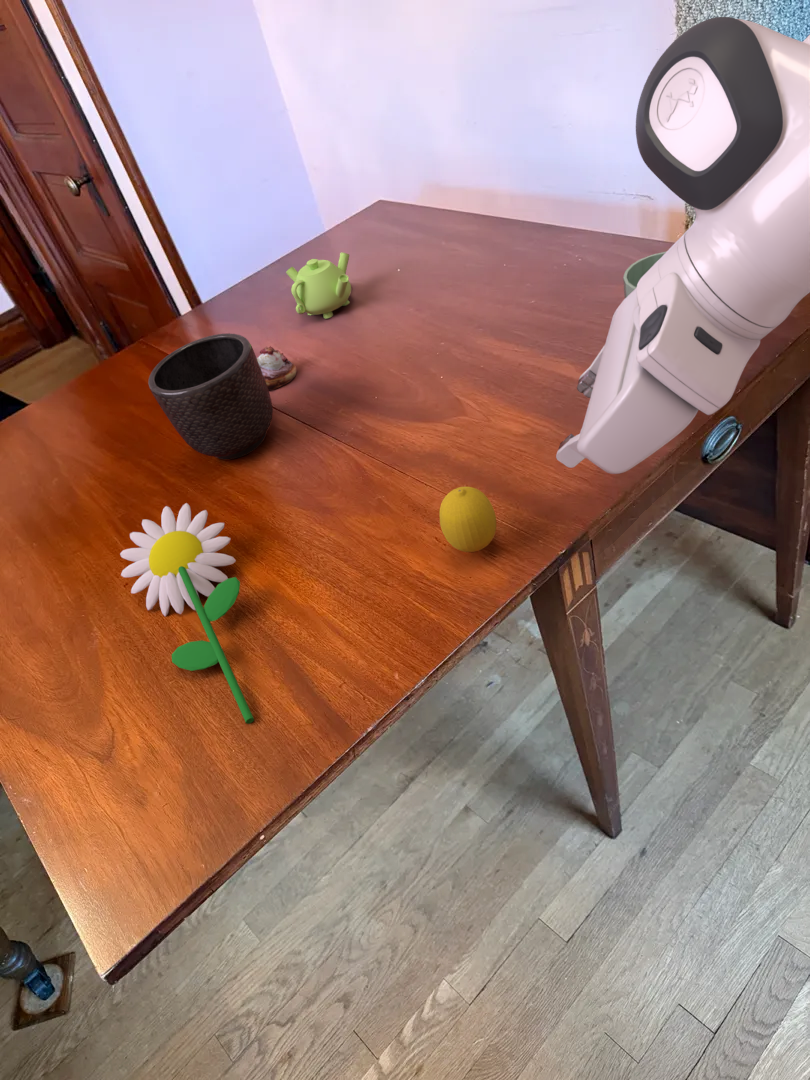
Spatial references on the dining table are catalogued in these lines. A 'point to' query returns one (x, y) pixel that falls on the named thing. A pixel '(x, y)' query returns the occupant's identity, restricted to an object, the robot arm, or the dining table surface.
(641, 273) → the cup
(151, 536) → the decorative flower
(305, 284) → the teapot
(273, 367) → the pastry
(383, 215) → the dining table surface
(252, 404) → the planter
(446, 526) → the lemon
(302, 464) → the dining table surface
